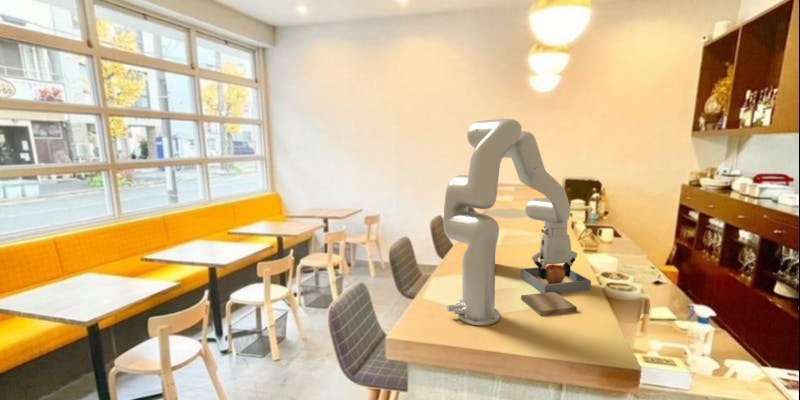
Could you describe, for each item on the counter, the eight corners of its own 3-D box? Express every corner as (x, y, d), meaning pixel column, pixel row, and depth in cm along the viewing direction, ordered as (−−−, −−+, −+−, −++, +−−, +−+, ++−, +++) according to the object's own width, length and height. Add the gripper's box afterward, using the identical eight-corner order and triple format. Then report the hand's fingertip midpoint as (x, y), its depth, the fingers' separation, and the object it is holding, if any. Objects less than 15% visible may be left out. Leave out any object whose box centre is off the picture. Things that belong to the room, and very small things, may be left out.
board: (540, 315, 114) (540, 311, 114) (521, 299, 126) (521, 295, 126) (576, 311, 116) (576, 306, 116) (554, 296, 128) (554, 291, 128)
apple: (554, 289, 134) (554, 267, 133) (538, 282, 141) (539, 261, 139) (569, 285, 137) (570, 263, 136) (553, 278, 144) (554, 258, 142)
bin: (544, 295, 129) (545, 285, 128) (520, 277, 146) (520, 268, 145) (590, 290, 132) (591, 280, 131) (561, 273, 149) (561, 264, 148)
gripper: (538, 235, 131) (537, 283, 133) (584, 231, 133) (582, 278, 136) (527, 230, 138) (527, 275, 141) (571, 227, 141) (569, 271, 144)
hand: (554, 276), depth 138 cm, fingers open, 9 cm apart
